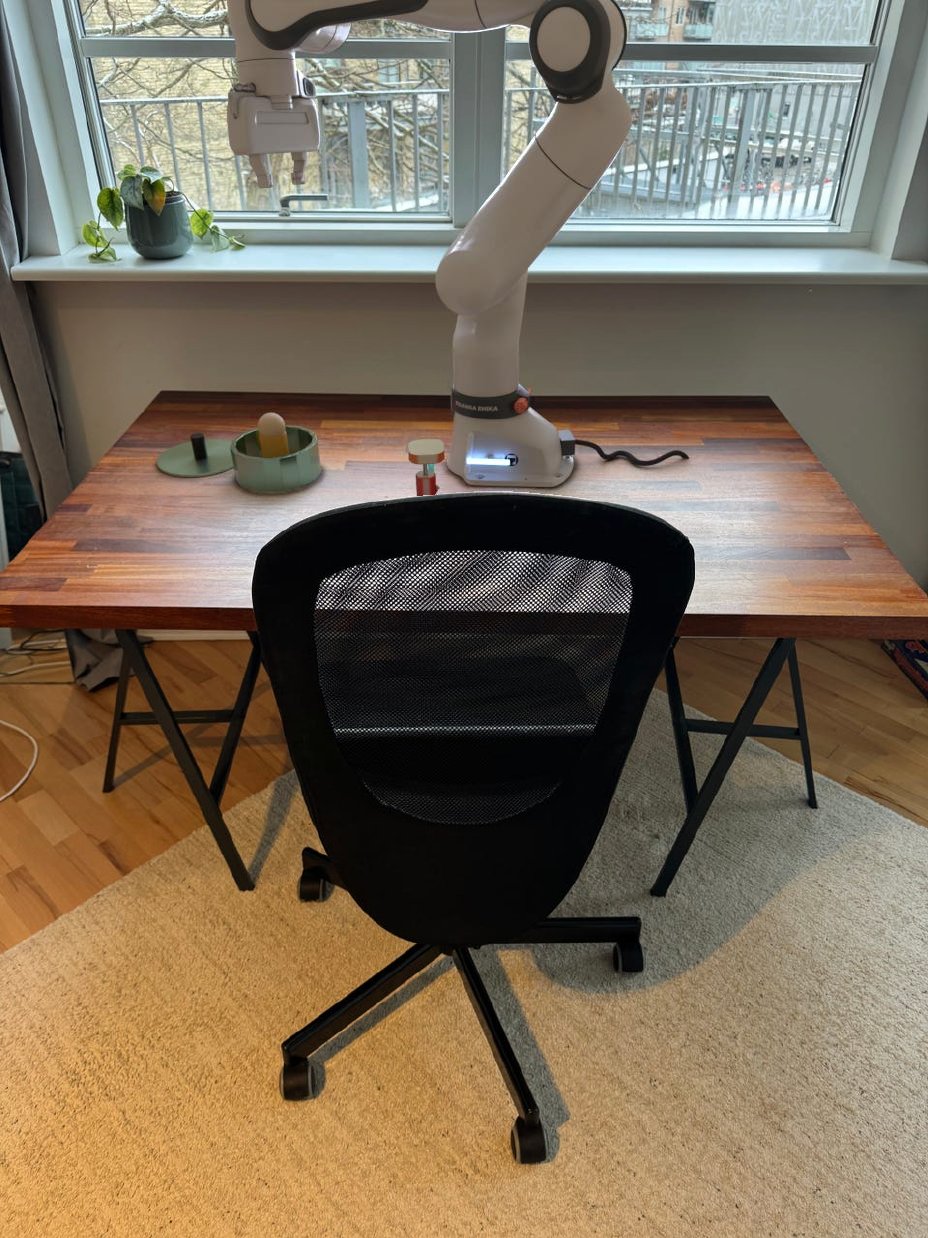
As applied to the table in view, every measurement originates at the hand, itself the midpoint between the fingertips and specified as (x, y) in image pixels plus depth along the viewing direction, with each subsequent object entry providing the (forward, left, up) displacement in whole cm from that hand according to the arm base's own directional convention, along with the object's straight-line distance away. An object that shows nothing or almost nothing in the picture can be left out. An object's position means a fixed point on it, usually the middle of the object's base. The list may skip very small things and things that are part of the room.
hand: (283, 186), depth 140 cm
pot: (+1, +13, -44) cm, 46 cm away
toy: (+1, +13, -44) cm, 46 cm away
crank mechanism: (-32, +28, -45) cm, 62 cm away
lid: (+18, +11, -44) cm, 48 cm away
